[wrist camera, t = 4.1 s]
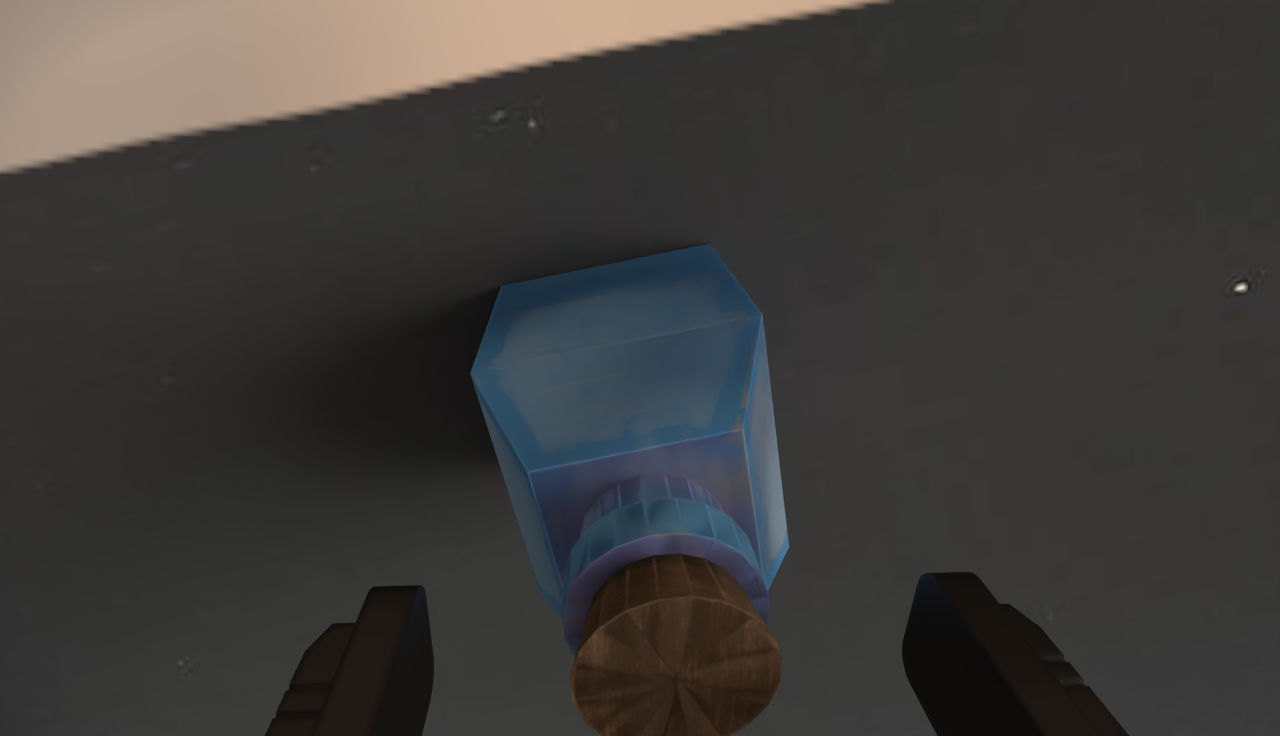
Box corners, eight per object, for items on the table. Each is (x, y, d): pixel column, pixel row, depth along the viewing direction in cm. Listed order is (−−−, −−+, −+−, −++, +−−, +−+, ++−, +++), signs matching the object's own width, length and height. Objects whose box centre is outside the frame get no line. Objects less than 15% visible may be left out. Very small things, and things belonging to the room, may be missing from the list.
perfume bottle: (501, 285, 20) (403, 558, 9) (709, 243, 20) (873, 463, 9) (551, 462, 22) (525, 846, 11) (735, 425, 22) (888, 771, 11)
